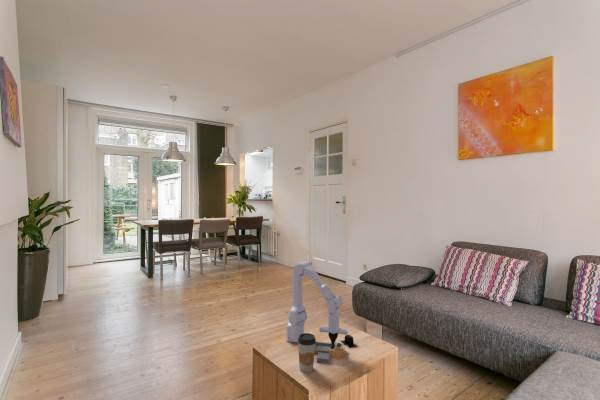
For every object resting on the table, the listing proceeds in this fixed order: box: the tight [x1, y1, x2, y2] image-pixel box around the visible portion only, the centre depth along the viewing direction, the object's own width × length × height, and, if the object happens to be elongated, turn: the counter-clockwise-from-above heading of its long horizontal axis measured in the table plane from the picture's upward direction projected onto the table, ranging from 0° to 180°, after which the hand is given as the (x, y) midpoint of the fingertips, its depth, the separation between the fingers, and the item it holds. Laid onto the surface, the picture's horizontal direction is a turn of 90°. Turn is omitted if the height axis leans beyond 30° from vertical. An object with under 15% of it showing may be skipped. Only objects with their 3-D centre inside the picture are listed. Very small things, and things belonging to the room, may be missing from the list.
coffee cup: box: [298, 332, 317, 373], centre depth 147 cm, size 8×8×15 cm
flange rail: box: [315, 341, 346, 359], centre depth 163 cm, size 16×8×3 cm, turn 79°
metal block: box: [333, 341, 343, 350], centre depth 161 cm, size 4×4×5 cm
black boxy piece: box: [339, 334, 359, 349], centre depth 173 cm, size 12×7×5 cm, turn 27°
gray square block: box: [316, 352, 332, 364], centre depth 155 cm, size 6×6×2 cm
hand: (333, 347), depth 162 cm, fingers closed, pressing on metal block
